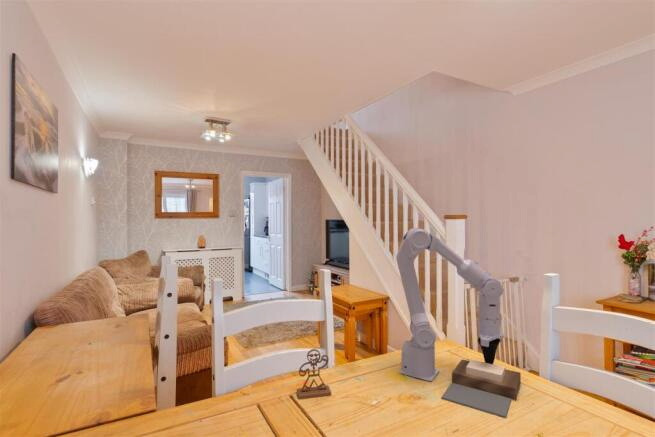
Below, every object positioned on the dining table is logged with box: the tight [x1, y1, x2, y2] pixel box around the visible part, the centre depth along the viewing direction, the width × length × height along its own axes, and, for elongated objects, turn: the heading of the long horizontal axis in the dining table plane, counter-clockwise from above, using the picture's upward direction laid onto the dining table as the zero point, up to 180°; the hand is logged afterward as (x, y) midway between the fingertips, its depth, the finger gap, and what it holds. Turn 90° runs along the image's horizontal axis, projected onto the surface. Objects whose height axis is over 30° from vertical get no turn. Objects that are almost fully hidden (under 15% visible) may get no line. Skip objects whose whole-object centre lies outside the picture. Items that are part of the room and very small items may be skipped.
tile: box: [466, 359, 506, 383], centre depth 95 cm, size 9×6×2 cm, turn 55°
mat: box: [441, 382, 512, 419], centre depth 87 cm, size 15×10×1 cm, turn 55°
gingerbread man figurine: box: [296, 348, 332, 400], centre depth 91 cm, size 9×4×12 cm, turn 102°
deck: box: [451, 359, 522, 401], centre depth 96 cm, size 16×11×3 cm
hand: (489, 363), depth 100 cm, fingers closed
